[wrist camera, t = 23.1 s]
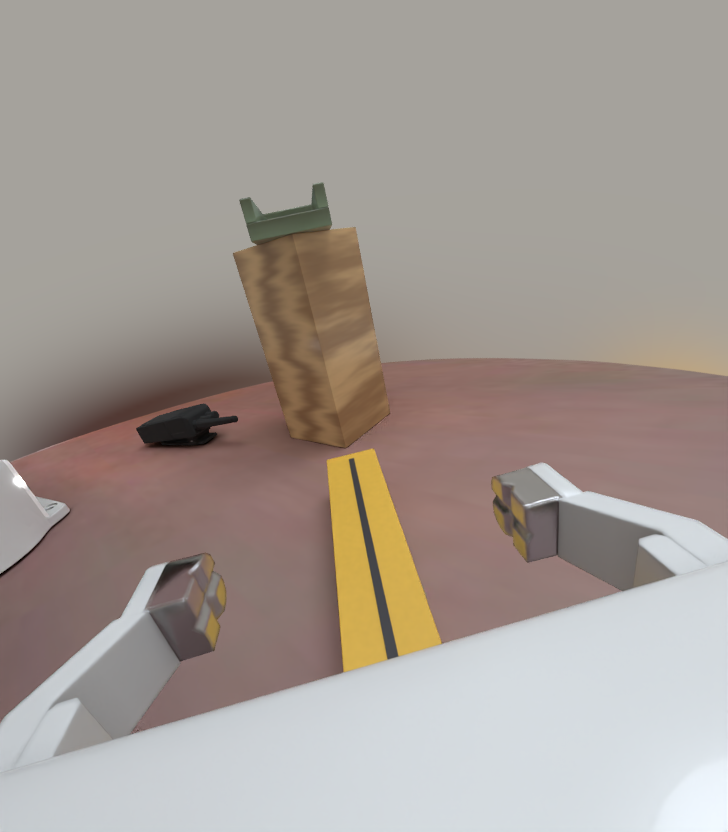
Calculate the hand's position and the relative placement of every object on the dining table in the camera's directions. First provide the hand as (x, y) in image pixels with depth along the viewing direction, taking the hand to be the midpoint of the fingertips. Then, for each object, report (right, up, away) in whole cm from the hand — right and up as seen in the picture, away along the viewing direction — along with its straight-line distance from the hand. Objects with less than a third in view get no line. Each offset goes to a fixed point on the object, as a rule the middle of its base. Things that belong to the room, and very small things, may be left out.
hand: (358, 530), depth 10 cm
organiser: (-3, +2, +39) cm, 40 cm away
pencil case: (+1, -8, +15) cm, 17 cm away
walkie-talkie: (-25, -1, +45) cm, 51 cm away
